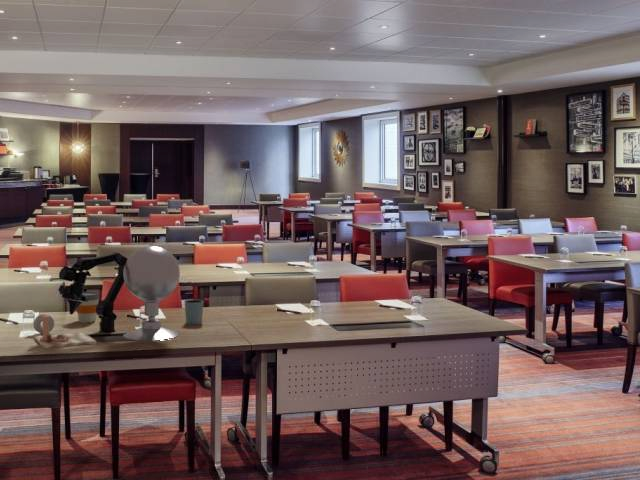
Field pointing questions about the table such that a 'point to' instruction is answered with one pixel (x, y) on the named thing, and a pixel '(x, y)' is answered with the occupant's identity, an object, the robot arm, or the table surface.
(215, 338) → the table surface
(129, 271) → the desk lamp
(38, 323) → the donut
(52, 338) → the pink l-shaped piece
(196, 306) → the grey-green tapered cup
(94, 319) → the reusable coffee cup
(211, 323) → the table surface
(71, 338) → the board
